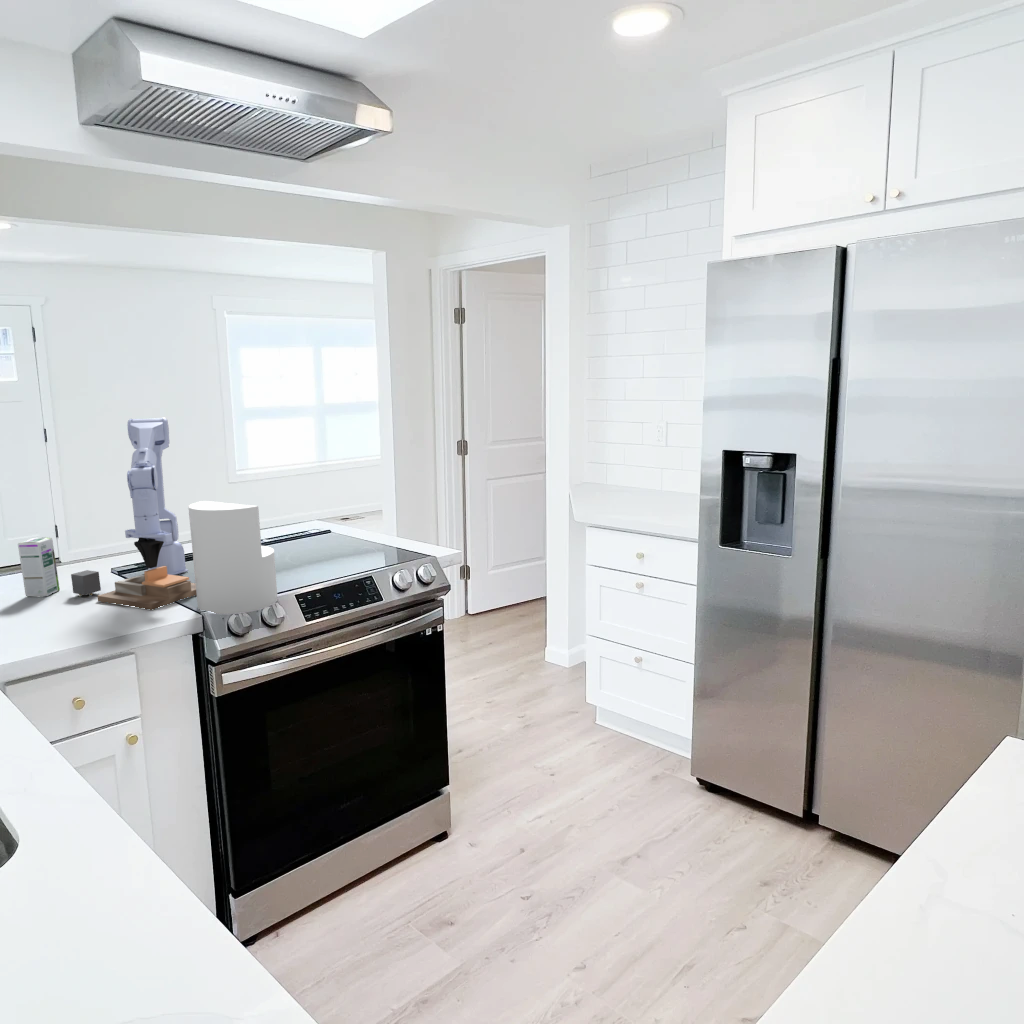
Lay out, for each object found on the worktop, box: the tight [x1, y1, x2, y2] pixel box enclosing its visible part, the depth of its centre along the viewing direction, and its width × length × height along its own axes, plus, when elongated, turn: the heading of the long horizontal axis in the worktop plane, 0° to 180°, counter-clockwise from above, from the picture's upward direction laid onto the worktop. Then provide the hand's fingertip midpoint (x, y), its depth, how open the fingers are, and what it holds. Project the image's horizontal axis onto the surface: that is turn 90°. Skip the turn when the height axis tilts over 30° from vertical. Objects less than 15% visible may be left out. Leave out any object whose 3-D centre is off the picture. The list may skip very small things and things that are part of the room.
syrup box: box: [17, 537, 60, 597], centre depth 202 cm, size 6×6×14 cm
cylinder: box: [187, 500, 278, 615], centre depth 191 cm, size 19×19×25 cm
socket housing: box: [97, 573, 197, 611], centre depth 200 cm, size 18×19×4 cm
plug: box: [70, 569, 102, 597], centre depth 202 cm, size 4×7×6 cm, turn 65°
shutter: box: [142, 566, 190, 588], centre depth 197 cm, size 8×8×3 cm
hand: (151, 567), depth 199 cm, fingers closed
